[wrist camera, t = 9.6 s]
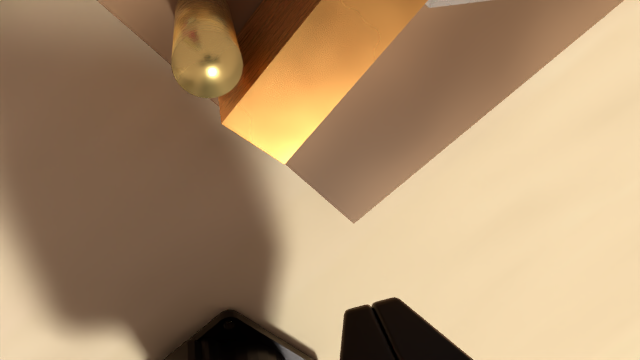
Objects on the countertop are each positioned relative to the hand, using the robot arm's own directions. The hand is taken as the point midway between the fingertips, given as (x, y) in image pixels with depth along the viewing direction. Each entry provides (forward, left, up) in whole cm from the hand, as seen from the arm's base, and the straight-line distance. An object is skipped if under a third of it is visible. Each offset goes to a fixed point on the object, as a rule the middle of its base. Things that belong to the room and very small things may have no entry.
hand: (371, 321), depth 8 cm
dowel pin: (+3, 0, -12) cm, 12 cm away
